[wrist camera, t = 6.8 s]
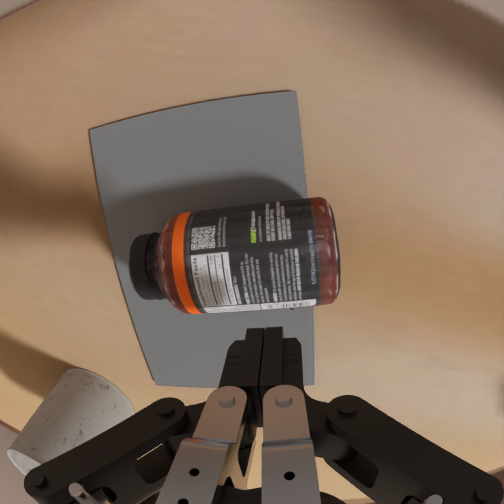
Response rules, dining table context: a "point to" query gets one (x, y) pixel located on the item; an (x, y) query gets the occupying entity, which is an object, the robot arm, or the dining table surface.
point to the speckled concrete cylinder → (69, 418)
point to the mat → (195, 199)
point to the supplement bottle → (241, 258)
